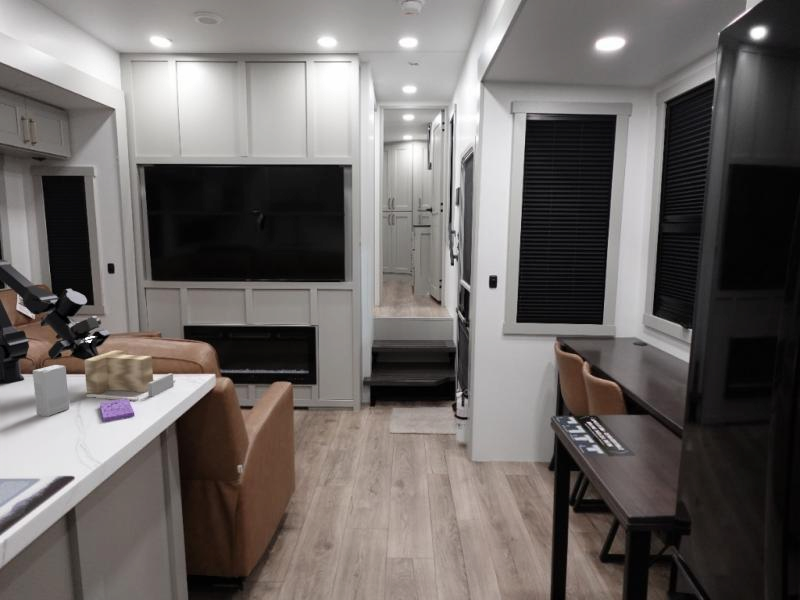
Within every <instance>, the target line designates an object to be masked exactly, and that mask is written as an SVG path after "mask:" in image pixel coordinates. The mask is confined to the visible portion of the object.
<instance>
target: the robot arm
mask: <svg viewBox="0 0 800 600" xmlns="http://www.w3.org/2000/svg"><path fill="white" fill-rule="evenodd" d="M11 264H12V263H11V262H10V261H8V260H6V259H0V281H2V282H3V283H4V284H5V285H6V286H8V288H10V289H11V290H12V291H14V293H16V294H17V295H18V296H19V297H20V298H21V299H22V303H23V306H24V307H25V308H26V309H27V310H28V312H30V313H31V314H32V315H41V314H46V316H41V319H40V327H45V326H49V327H50V328H51V329H52V330H53V331H54V332H55V333H56V335H55V338H56V339H57V340H56V341H55V342H54V344H53V345H52V346H51V347H50V349H49V350H48V352H47V353H48V356H49V358H50V359H51V360H52V361H55V360H57V359H58V360H59V359H61V358H62V356H63V353H62V352H66V351H70V353H71V354H70V355H69V357H71V358H72V357H73V358H77V359H80V360H83V361H84V360H86V359H89V358H92V357H95V356H98V355H100V354H99V352H98V347H101V346H102V345H104V343H105V342H106V341H107V339H108V338H109V337H111V335H112V334H111V332H110V331H109V330H108V329H104V328H103V329H100V330H99V329H98V328H100V327H101V326H100V325H102V321H101V320H102V319H100V318H99V317H98V316H97V315H93V316H90V317H88V318H86V319H83V320H81V321H75V320H73V318H74V317H75V316H77V315H78V313H80V311H81V310H82V308H83V307H84V306H85V305H87V302H88V299H87V297H86V296H85V295H84V294H82V293H80V292H78V291H75V290H73V289H72V288H66V289H65V288H64V290H63V292H62V293H61V295H60V296H59V297H58V296H57V294H54V293H53V292H51V291H49V290H48V289H44V288H41V287H39V286H37V285H35V284H34V283H33V282H32V281H30V280H29V279H28V278H27V277H26V276H24V275H23V274H22V273H21V272H19V271H18V270H17V269H16V268H15V267H14V266H12V265H11ZM72 317H73V318H72ZM95 329H98V330H96V331H94V332H93V334H92V331H93V330H95ZM90 335H91V336H90ZM89 336H90V337H89ZM60 339H61V340H60ZM29 342H30V340H29V339H28V337H27V336H26V332H25V331H24V330H23V329H22V330H21V329H20V330H18V329H17V328H15V327H14V325H13V323H12V321H11V319H10V317H9V314H8V312H7V310H6V308H5V306H4V304H3V301H2V300H1V298H0V384H5V383H12V382H18V381H23V380H25V377H24V376H23V375H22V373H21V364H20V360H23V359H26V358H27V355H28V351H29V348H30V344H29Z"/></svg>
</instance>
